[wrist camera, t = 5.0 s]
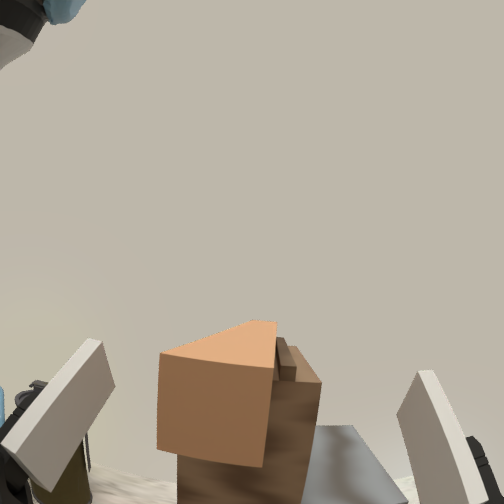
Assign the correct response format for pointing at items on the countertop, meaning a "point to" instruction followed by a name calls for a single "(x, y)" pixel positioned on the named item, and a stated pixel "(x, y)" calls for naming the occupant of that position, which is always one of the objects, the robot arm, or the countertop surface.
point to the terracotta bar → (218, 395)
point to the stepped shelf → (293, 454)
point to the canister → (73, 477)
